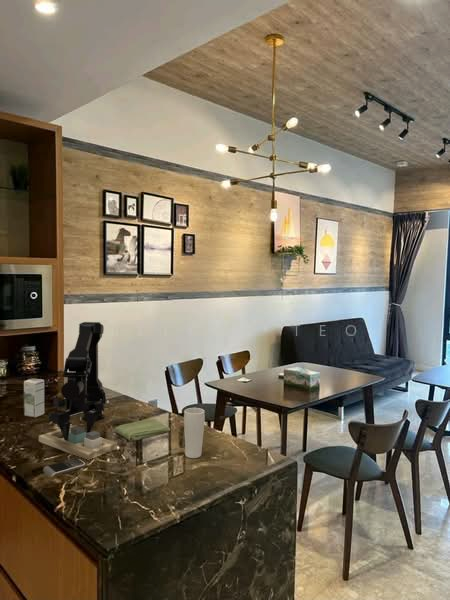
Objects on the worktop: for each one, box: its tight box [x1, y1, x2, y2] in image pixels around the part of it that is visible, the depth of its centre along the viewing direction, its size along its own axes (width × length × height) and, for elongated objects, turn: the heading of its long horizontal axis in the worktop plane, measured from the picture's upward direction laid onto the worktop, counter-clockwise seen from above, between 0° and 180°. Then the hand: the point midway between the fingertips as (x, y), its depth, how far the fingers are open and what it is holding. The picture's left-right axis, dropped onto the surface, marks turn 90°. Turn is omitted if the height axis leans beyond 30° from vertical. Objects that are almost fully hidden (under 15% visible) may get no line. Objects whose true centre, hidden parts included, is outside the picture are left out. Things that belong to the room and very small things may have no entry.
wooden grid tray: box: [38, 426, 118, 461], centre depth 154 cm, size 12×26×2 cm, turn 56°
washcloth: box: [114, 418, 171, 442], centre depth 168 cm, size 13×18×3 cm
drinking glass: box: [183, 407, 206, 459], centre depth 147 cm, size 7×7×15 cm
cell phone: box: [42, 457, 86, 478], centre depth 136 cm, size 6×11×1 cm, turn 133°
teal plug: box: [69, 425, 87, 444], centre depth 154 cm, size 4×4×6 cm
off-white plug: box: [84, 430, 103, 450], centre depth 149 cm, size 4×4×6 cm
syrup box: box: [23, 378, 45, 418], centre depth 184 cm, size 6×6×14 cm
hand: (77, 436), depth 154 cm, fingers open, 9 cm apart
